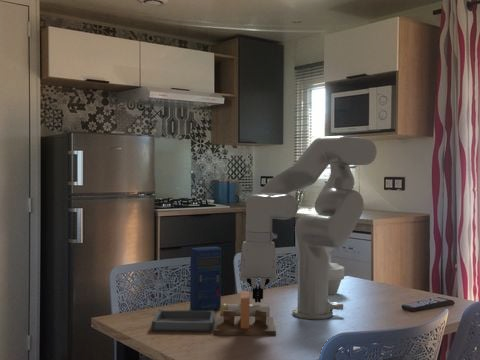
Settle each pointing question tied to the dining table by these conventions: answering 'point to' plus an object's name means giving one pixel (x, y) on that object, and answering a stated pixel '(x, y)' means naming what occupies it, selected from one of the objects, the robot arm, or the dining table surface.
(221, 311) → the yellow-tipped white cylinder
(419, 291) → the dining table surface
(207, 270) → the electronic device
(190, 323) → the tray
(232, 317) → the cradle board
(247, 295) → the orange bracket
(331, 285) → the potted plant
